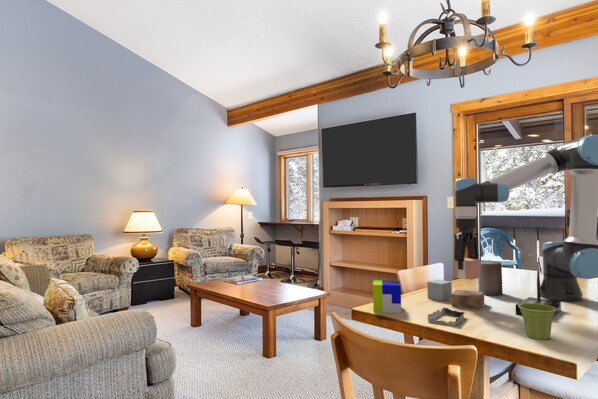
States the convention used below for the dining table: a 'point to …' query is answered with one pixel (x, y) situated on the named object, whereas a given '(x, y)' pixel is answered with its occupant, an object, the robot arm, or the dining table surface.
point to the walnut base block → (468, 299)
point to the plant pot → (537, 320)
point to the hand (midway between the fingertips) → (467, 276)
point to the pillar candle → (490, 278)
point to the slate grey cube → (439, 290)
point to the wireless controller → (539, 299)
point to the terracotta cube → (469, 268)
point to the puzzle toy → (387, 296)
